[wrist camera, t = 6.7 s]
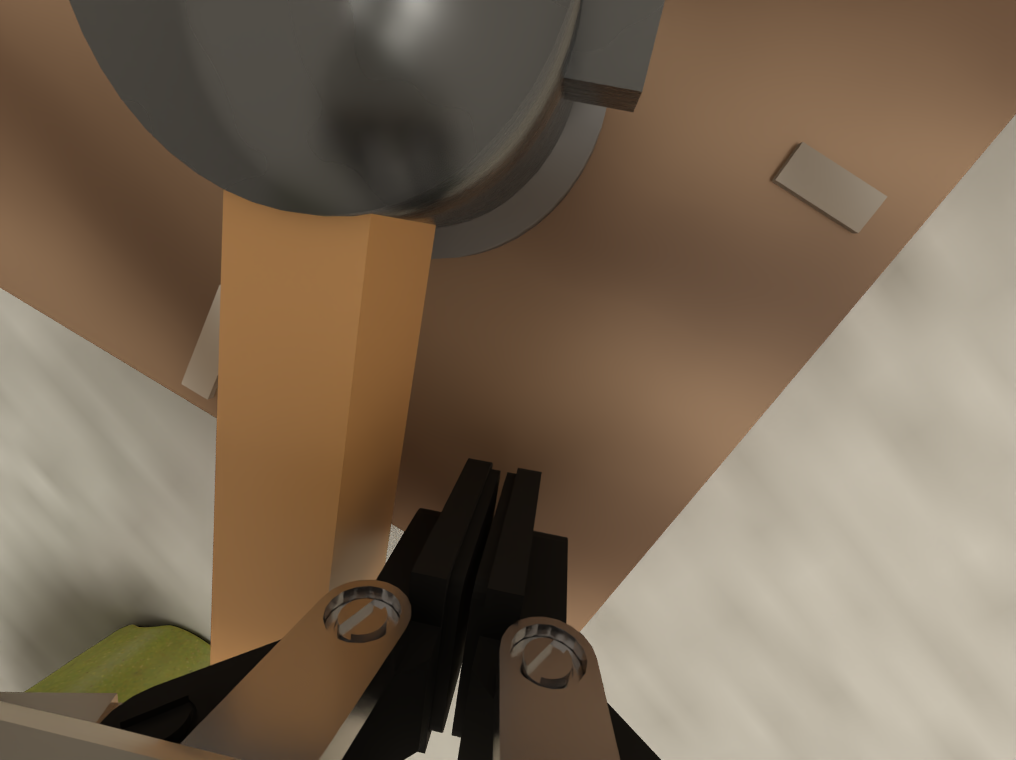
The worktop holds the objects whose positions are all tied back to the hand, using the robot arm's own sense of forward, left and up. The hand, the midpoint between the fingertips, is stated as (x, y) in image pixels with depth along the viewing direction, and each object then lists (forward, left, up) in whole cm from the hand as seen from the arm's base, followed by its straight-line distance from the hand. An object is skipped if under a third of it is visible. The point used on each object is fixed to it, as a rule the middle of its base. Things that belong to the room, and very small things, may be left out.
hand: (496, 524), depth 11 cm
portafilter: (-3, -5, 0) cm, 5 cm away
